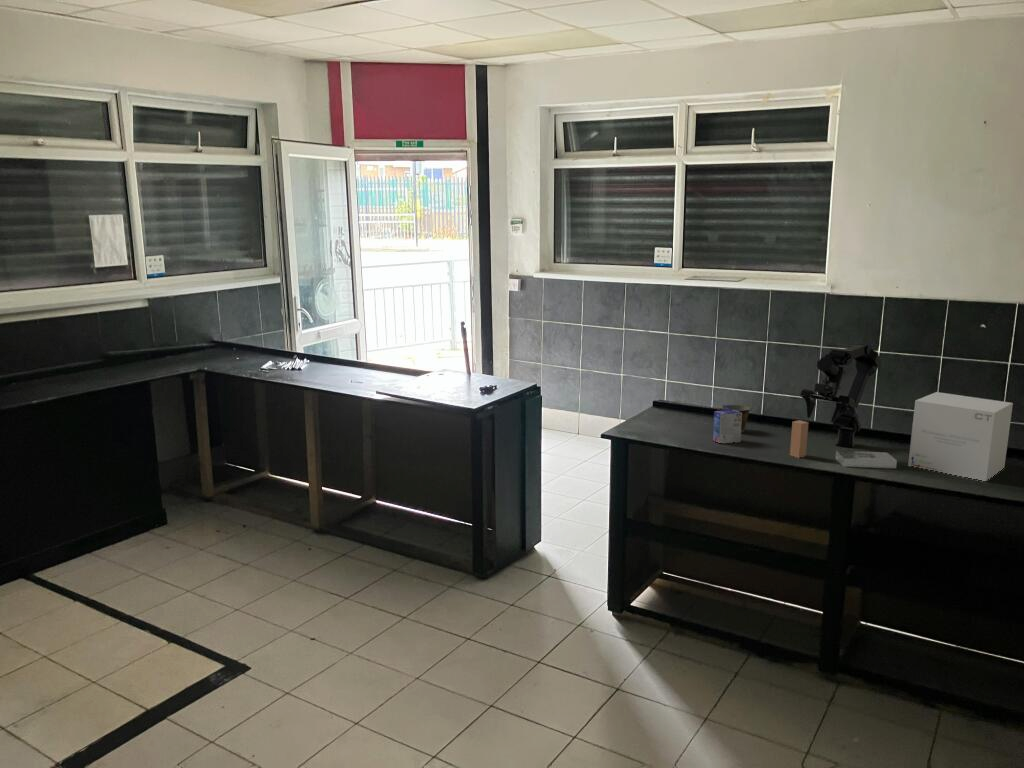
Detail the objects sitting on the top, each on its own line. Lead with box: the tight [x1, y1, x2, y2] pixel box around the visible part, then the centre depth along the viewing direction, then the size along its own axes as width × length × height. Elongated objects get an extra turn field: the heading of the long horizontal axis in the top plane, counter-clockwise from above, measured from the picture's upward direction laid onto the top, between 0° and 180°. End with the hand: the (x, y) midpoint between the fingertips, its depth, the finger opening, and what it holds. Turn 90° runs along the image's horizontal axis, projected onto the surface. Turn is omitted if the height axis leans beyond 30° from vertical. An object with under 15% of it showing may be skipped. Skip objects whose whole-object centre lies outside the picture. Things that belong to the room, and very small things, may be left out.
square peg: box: [789, 419, 809, 459], centre depth 297 cm, size 4×4×13 cm
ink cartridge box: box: [712, 404, 742, 444], centre depth 316 cm, size 10×6×14 cm, turn 106°
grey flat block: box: [835, 450, 898, 470], centre depth 289 cm, size 10×18×3 cm, turn 84°
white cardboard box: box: [907, 391, 1014, 482], centre depth 283 cm, size 25×21×24 cm
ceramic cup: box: [716, 404, 750, 433], centre depth 333 cm, size 13×10×10 cm
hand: (820, 420), depth 295 cm, fingers open, 9 cm apart
